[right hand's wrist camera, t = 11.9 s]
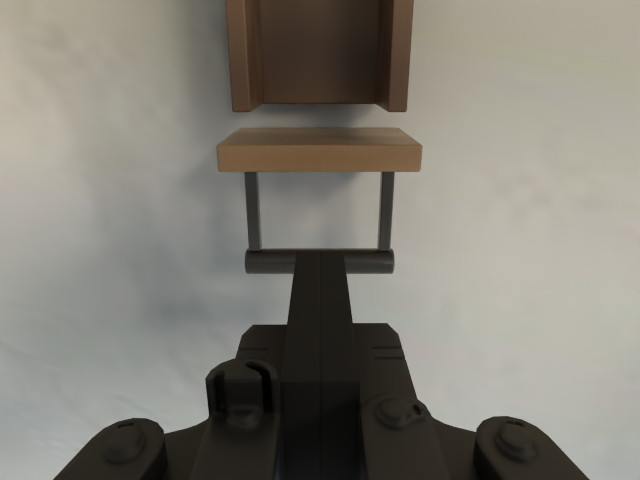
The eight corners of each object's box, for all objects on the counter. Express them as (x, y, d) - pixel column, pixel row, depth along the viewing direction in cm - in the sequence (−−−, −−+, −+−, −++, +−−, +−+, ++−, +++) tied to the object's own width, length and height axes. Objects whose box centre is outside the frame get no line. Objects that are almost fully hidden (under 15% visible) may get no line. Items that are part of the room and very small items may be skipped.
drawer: (392, 244, 28) (411, 290, 22) (246, 244, 28) (227, 290, 22) (423, -279, 20) (468, -428, 14) (214, -279, 20) (169, -428, 14)
